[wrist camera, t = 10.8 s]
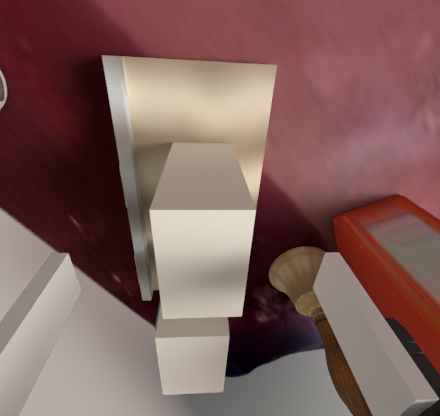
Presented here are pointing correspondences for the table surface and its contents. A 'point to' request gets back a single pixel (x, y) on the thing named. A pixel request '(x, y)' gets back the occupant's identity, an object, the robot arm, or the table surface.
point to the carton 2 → (191, 353)
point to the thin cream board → (181, 128)
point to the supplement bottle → (2, 90)
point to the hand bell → (317, 317)
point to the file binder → (397, 264)
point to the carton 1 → (202, 231)
